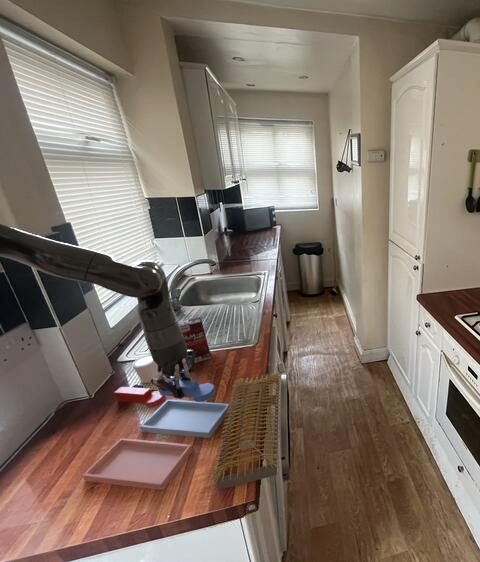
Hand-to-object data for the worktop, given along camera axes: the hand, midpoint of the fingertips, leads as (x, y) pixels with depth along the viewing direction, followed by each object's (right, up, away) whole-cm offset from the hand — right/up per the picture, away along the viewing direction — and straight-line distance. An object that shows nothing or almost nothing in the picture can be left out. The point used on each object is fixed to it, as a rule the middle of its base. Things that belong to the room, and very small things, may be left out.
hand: (184, 393), depth 83 cm
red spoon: (-20, -6, +12) cm, 24 cm away
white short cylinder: (-25, -3, +22) cm, 33 cm away
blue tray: (-1, -9, +4) cm, 10 cm away
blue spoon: (+2, 0, 0) cm, 2 cm away
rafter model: (+19, -10, +1) cm, 21 cm away
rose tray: (-5, -14, -9) cm, 17 cm away
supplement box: (-14, +1, +31) cm, 34 cm away
